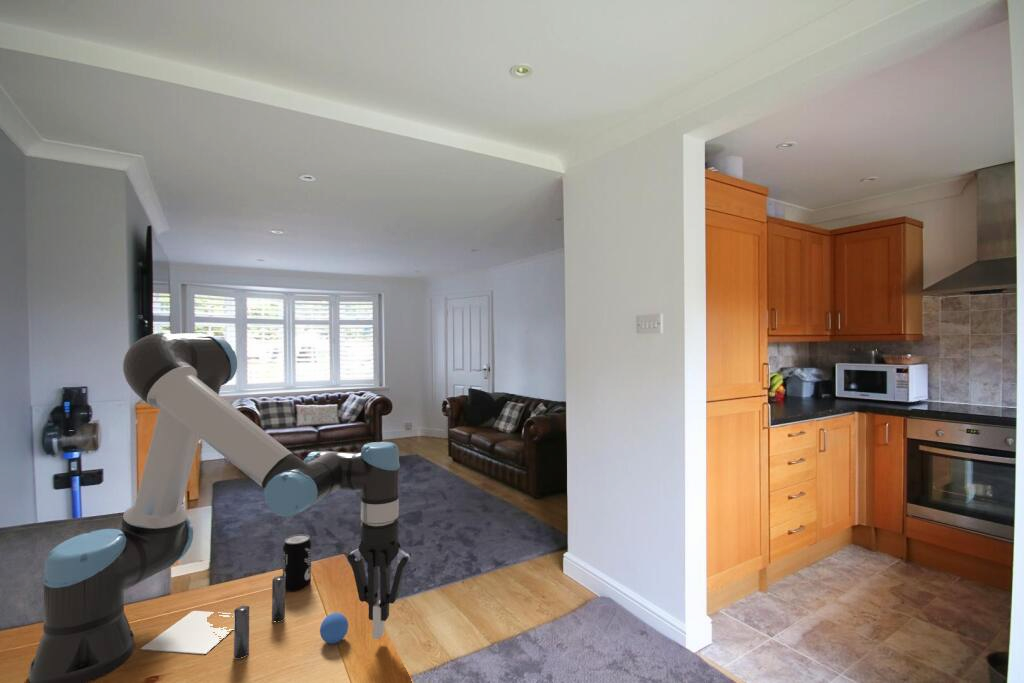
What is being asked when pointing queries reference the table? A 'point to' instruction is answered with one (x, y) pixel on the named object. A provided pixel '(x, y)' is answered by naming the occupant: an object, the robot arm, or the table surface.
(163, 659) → the table surface
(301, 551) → the beverage can
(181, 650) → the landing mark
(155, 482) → the robot arm
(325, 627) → the ball
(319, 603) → the table surface
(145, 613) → the table surface
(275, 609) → the post
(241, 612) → the post
